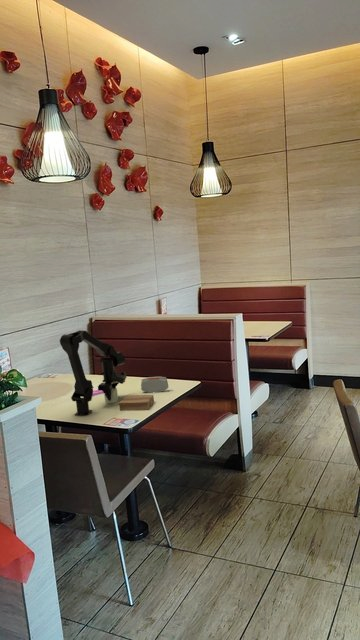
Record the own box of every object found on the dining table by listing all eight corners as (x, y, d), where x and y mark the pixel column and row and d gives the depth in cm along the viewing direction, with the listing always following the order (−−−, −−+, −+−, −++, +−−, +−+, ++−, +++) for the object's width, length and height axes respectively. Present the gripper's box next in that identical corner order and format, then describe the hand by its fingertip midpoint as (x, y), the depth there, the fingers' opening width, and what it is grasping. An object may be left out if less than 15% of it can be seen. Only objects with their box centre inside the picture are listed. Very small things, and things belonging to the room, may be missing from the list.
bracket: (86, 397, 273) (85, 385, 272) (82, 395, 277) (81, 383, 276) (109, 392, 279) (107, 379, 278) (105, 390, 284) (103, 378, 283)
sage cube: (114, 402, 259) (113, 391, 258) (105, 402, 260) (104, 391, 259) (118, 399, 264) (116, 388, 263) (108, 399, 265) (107, 388, 264)
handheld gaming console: (168, 390, 273) (167, 375, 272) (168, 391, 270) (167, 377, 269) (141, 392, 274) (140, 377, 273) (141, 393, 271) (139, 379, 270)
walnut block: (148, 410, 244) (147, 402, 243) (119, 411, 246) (119, 403, 246) (154, 402, 255) (153, 394, 255) (127, 403, 258) (126, 395, 257)
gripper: (117, 373, 249) (120, 404, 251) (129, 364, 267) (132, 393, 269) (95, 374, 251) (99, 404, 253) (108, 364, 269) (112, 393, 271)
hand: (111, 398), depth 262 cm, fingers closed on sage cube, 5 cm apart
